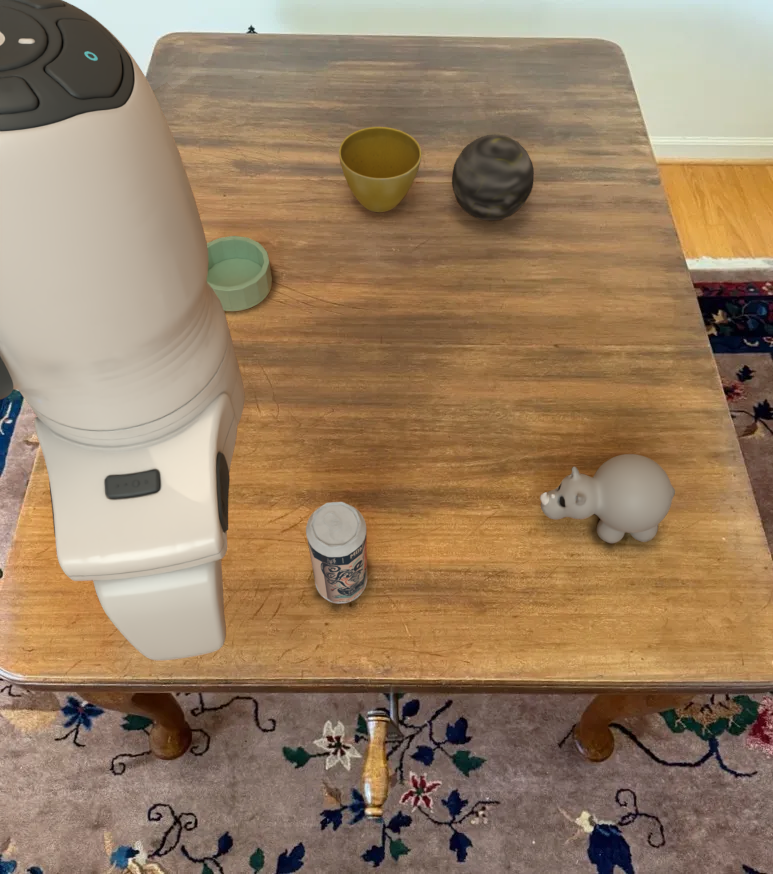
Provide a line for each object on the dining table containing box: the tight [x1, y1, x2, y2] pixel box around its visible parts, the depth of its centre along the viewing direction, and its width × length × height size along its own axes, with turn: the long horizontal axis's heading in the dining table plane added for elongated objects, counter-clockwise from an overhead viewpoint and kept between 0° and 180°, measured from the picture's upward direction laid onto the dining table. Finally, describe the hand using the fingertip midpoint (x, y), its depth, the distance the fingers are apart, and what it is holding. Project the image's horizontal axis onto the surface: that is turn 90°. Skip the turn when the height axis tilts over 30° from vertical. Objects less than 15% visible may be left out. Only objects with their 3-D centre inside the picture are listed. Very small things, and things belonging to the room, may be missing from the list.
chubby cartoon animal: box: [539, 453, 676, 544], centre depth 69 cm, size 7×12×8 cm, turn 91°
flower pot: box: [338, 126, 423, 213], centre depth 93 cm, size 10×10×7 cm
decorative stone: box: [451, 133, 535, 222], centre depth 91 cm, size 10×10×10 cm
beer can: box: [305, 501, 368, 604], centre depth 63 cm, size 5×5×12 cm
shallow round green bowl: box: [207, 235, 273, 312], centre depth 86 cm, size 9×9×4 cm
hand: (202, 519), depth 45 cm, fingers open, 8 cm apart
